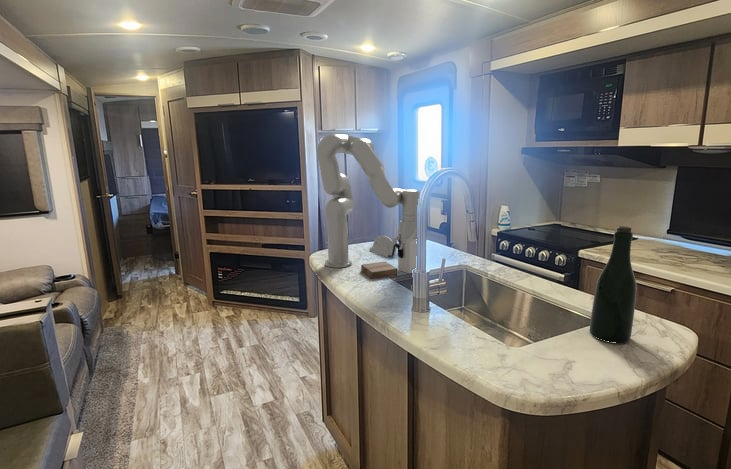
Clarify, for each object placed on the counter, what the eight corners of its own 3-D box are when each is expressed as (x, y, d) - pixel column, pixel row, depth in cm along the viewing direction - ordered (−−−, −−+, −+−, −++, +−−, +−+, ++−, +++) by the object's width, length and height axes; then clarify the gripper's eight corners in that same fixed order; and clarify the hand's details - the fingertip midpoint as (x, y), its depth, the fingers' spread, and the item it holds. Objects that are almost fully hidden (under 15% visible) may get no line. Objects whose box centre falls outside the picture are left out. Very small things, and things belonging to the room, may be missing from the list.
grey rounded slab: (368, 250, 215) (374, 232, 215) (375, 252, 218) (381, 234, 217) (387, 257, 201) (392, 238, 201) (394, 259, 204) (400, 240, 204)
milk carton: (409, 273, 176) (410, 231, 172) (397, 270, 182) (398, 229, 177) (420, 270, 181) (421, 229, 177) (408, 267, 186) (409, 226, 182)
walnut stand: (361, 271, 181) (361, 264, 180) (385, 267, 185) (385, 261, 185) (372, 279, 170) (372, 272, 169) (397, 275, 174) (397, 268, 174)
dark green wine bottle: (632, 335, 119) (649, 226, 112) (627, 349, 111) (644, 232, 104) (593, 325, 126) (606, 221, 118) (585, 337, 118) (599, 227, 111)
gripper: (423, 215, 182) (422, 252, 186) (388, 218, 176) (388, 256, 180) (431, 217, 176) (430, 256, 180) (396, 221, 169) (396, 260, 173)
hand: (409, 256), depth 180 cm, fingers closed on milk carton, 8 cm apart
